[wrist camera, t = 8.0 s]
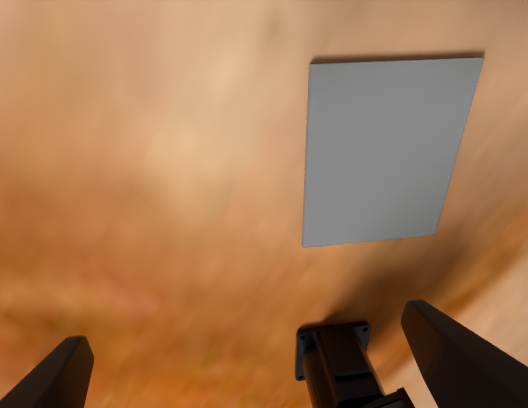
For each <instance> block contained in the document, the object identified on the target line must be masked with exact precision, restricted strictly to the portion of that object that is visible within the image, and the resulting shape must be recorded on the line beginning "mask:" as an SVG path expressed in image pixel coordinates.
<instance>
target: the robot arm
mask: <svg viewBox="0 0 528 408" xmlns="http://www.w3.org/2000/svg"><path fill="white" fill-rule="evenodd" d="M401 325H402V329H403V331H404V334H405V336H406V338H407V341H408V343H409V346H410V348H411V350H412V353H413V355H414V358H415V360H416V363H417V365H418V367H419V370H420V372H421V374H422V377H423V379H424V381H425V383H426V385H427V387H428V389H429V391H430V393H431V394H432V396H433V398H434V400H435V402H436V404H437V406H438V408H528V367H527V366H526V365H524V364H522V363H521V362H519V361H518V360H516V359H515V358H513V357H511V356H510V355H508V354H507V353H505V352H504V351H502V350H501V349H499V348H497V347H496V346H494V345H493V344H491V343H490V342H488V341H486V340H485V339H483V338H482V337H480V336H479V335H477V334H476V333H474V332H472V331H471V330H469V329H468V328H466V327H465V326H463V325H461V324H460V323H458V322H457V321H455V320H454V319H452V318H451V317H449V316H447V315H446V314H444V313H443V312H441V311H440V310H438V309H436V308H435V307H433V306H432V305H430V304H429V303H427V302H426V301H424V300H422V299H414V300H408V301H407V302H406V304H405V307H404V311H403V314H402V318H401ZM370 330H371V327H370V325H369V324H368V322H359V323H351V324H343V325H335V326H328V327H320V328H312V329H304V330H300V331H298V332H297V333H296V353H295V377H296V380H297V381H303V380H306V383H307V387H308V391H309V395H310V399H311V403H312V407H313V408H415V407H414V405H413V403H412V401H411V400H410V398H409V396H408V394H407V393H406V391H405V389H404V387H403V388H400V389H397V391H396V392H394V393H391V394H388V395H386V394H385V392H384V390H383V388H382V385H381V383H380V381H379V379H378V377H377V375H376V373H375V370H374V368H373V366H372V364H371V362H370V360H369V358H368V356H367V353H366V350H367V345H368V340H369V335H370ZM93 363H94V356H93V353H92V350H91V348H90V345H89V343H88V340H87V338H86V337H85V336H84V335H78V336H70V337H67V338H66V339H64V340H63V341H62V342H61V343H60V344H59V345H58V346H57V347H56V348H55V349H54V350H53V351H52V352H51V353H50V354H48V355H47V356H46V357H45V358H44V359H43V360H42V361H41V362H40V363H39V364H38V365H37V366H36V367H35V368H34V369H33V370H32V371H31V372H30V373H28V374H27V375H26V376H25V377H24V378H23V379H22V380H21V381H20V382H19V383H18V384H17V385H16V386H15V387H14V388H13V389H12V390H11V391H10V392H8V393H7V394H6V395H5V396H4V397H3V398H2V399H1V400H0V408H84V405H85V401H86V396H87V391H88V387H89V382H90V378H91V373H92V368H93Z"/></svg>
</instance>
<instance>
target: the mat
mask: <svg viewBox="0 0 528 408" xmlns="http://www.w3.org/2000/svg"><path fill="white" fill-rule="evenodd" d="M483 61H484V58H482V57H474V58H448V59H423V60H397V61H371V62H346V63H320V64H309V83H308V108H307V133H306V157H305V182H304V207H303V232H302V246H303V248H309V247H319V246H329V245H339V244H349V243H359V242H369V241H379V240H389V239H399V238H409V237H419V236H429V235H435V232H436V228H437V225H438V221H439V217H440V214H441V210H442V207H443V203H444V200H445V196H446V193H447V189H448V186H449V182H450V178H451V175H452V171H453V168H454V164H455V161H456V157H457V154H458V150H459V146H460V143H461V139H462V136H463V132H464V129H465V125H466V122H467V118H468V114H469V111H470V107H471V104H472V100H473V97H474V93H475V90H476V86H477V82H478V79H479V75H480V72H481V68H482V65H483Z"/></svg>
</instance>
